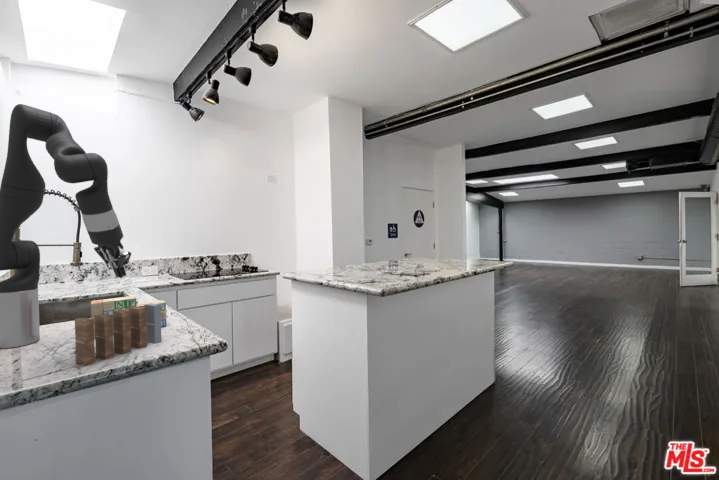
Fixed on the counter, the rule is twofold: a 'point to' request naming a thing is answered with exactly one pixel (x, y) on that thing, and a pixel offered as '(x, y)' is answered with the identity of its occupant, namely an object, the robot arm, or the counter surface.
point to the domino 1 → (84, 341)
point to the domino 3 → (122, 331)
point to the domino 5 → (153, 322)
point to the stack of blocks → (122, 307)
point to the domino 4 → (138, 327)
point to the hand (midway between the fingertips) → (121, 276)
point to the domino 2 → (104, 336)
